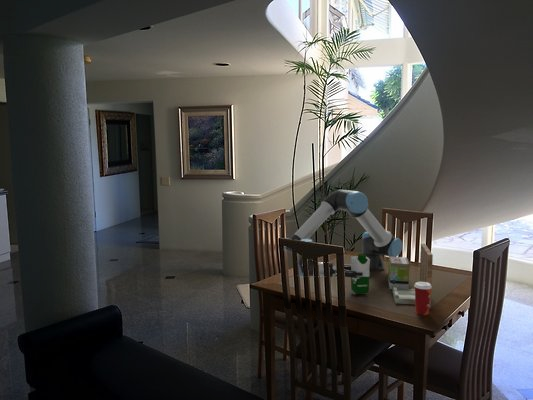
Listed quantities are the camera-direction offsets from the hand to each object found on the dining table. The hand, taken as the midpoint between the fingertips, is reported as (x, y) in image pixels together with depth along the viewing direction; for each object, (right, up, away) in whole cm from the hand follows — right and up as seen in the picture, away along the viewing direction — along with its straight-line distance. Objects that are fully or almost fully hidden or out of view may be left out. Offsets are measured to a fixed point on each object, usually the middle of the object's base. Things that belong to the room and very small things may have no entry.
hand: (369, 271), depth 234 cm
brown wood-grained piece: (+19, -13, -4) cm, 23 cm away
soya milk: (-4, -11, +2) cm, 12 cm away
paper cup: (+19, -16, -23) cm, 34 cm away
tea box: (+20, -11, +16) cm, 28 cm away
